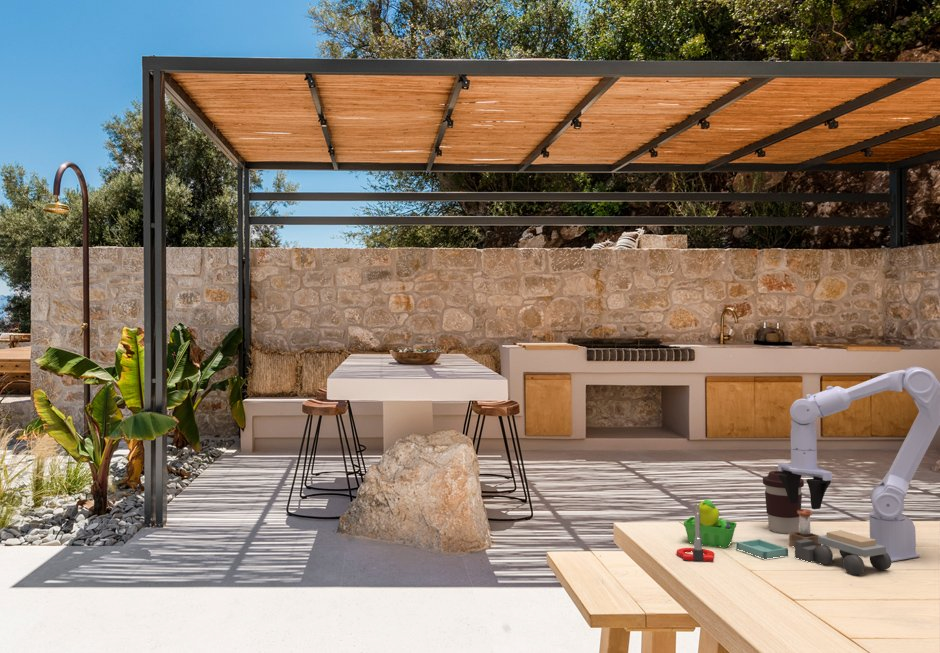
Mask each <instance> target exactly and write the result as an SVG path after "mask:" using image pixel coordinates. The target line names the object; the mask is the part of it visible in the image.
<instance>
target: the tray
mask: <svg viewBox="0 0 940 653" xmlns="http://www.w3.org/2000/svg"><path fill="white" fill-rule="evenodd" d="M735 543H736V545H735V546H736V548H735V549H739V550H743V551H745V552H748V553H751V554H753V555H756V556H759V557H761V558H764V559H767V558H773V557H780V556H788V557H789V548H788V547H785V546H782V545H779V544H776V543H773V542H770V541H766V540H763V539H759V538H757V539H751V540H743V541H736V542H735Z"/></svg>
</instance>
